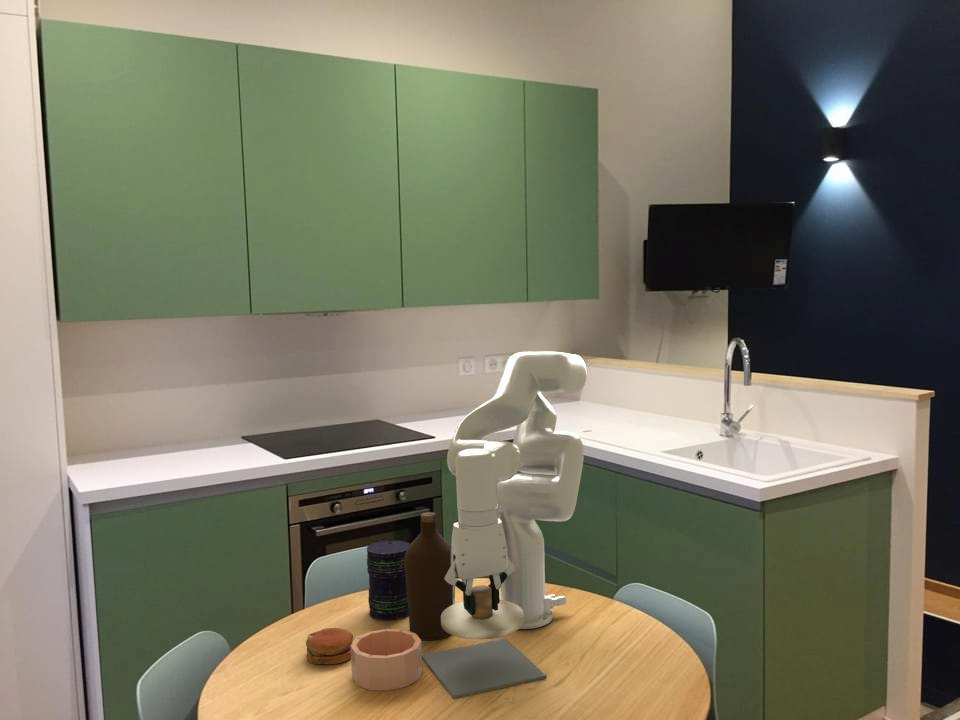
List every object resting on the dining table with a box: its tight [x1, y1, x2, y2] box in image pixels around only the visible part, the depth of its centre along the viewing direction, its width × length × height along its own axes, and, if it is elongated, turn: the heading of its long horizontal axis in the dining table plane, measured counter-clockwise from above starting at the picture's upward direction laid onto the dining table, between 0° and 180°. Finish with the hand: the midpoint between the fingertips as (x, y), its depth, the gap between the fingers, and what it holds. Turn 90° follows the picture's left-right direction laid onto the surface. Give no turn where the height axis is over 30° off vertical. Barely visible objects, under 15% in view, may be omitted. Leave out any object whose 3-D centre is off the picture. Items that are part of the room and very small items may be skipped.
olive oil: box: [404, 511, 456, 641], centre depth 174 cm, size 11×11×25 cm
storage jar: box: [366, 539, 411, 622], centre depth 185 cm, size 10×10×15 cm
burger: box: [305, 627, 354, 666], centre depth 165 cm, size 10×9×5 cm
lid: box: [441, 584, 524, 641], centre depth 157 cm, size 16×16×6 cm
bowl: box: [350, 628, 423, 692], centre depth 156 cm, size 13×13×6 cm
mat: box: [422, 638, 547, 699], centre depth 157 cm, size 18×18×1 cm
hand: (481, 609), depth 157 cm, fingers closed on lid, 4 cm apart
